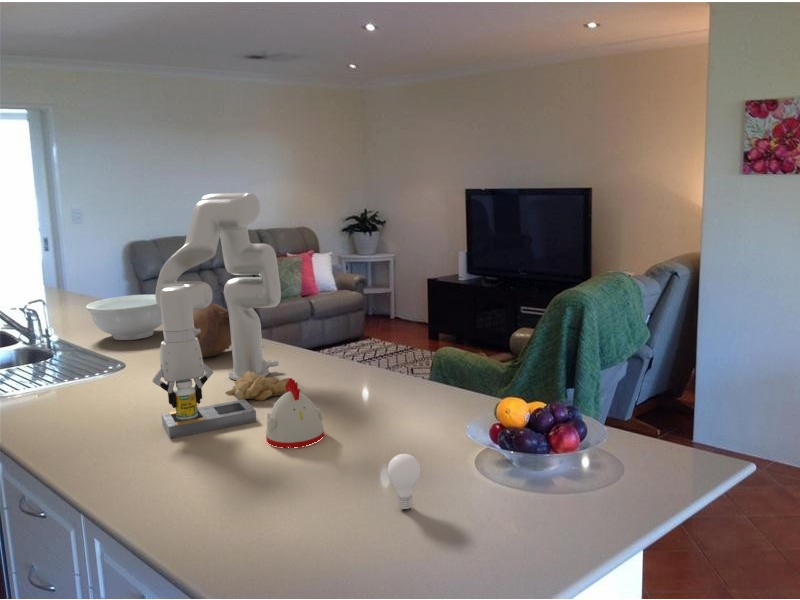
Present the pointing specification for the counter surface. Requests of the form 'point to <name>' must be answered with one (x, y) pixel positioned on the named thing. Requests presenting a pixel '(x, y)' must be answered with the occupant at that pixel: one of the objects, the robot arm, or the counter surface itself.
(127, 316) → the bowl
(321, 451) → the counter surface
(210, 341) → the brown round lump
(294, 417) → the kitchen timer
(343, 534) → the counter surface
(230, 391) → the ginger root
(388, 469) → the lightbulb
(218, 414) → the cinder block
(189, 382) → the supplement bottle
